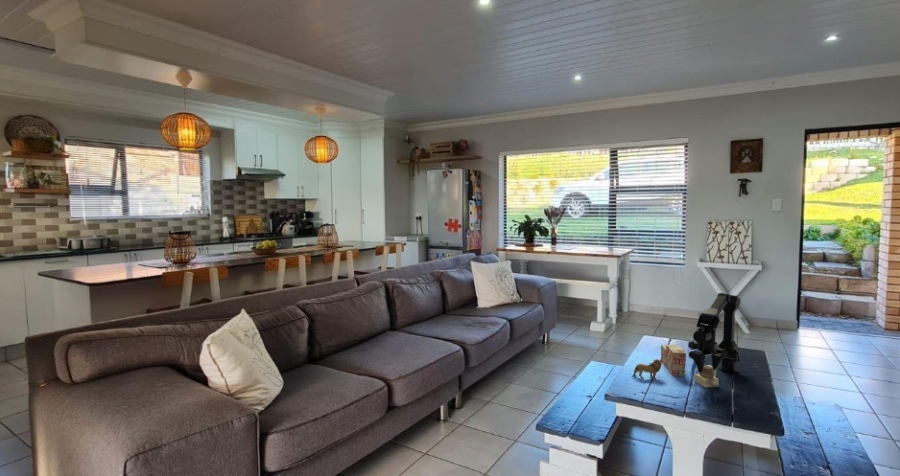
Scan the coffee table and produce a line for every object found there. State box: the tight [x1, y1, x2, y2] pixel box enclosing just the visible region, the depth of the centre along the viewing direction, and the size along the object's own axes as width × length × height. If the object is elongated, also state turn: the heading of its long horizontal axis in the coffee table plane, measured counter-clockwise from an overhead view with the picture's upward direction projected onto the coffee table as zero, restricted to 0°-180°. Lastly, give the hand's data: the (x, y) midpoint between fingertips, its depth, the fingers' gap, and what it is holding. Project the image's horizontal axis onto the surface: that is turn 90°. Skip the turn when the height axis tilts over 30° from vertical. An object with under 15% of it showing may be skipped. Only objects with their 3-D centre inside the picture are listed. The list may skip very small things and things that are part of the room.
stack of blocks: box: [660, 344, 687, 377], centre depth 236 cm, size 21×6×12 cm, turn 169°
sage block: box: [707, 364, 717, 377], centre depth 227 cm, size 4×4×4 cm
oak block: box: [694, 373, 720, 388], centre depth 216 cm, size 7×7×4 cm
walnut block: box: [699, 364, 714, 379], centre depth 216 cm, size 4×4×4 cm
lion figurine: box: [631, 359, 663, 380], centre depth 224 cm, size 15×5×9 cm, turn 94°
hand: (706, 371), depth 216 cm, fingers open, 9 cm apart
